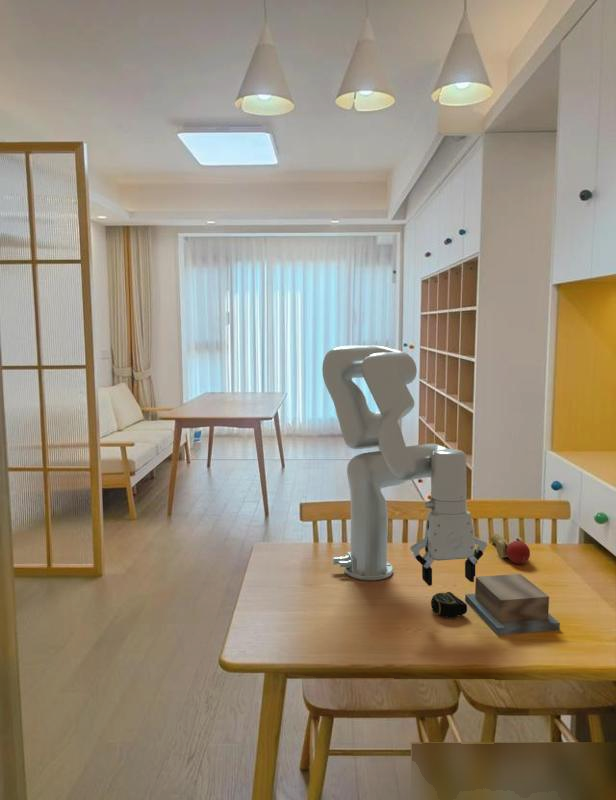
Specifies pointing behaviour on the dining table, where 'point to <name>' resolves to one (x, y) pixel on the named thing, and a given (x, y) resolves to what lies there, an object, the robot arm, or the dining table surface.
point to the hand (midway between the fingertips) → (448, 581)
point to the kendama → (511, 549)
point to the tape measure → (448, 605)
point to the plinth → (511, 605)
